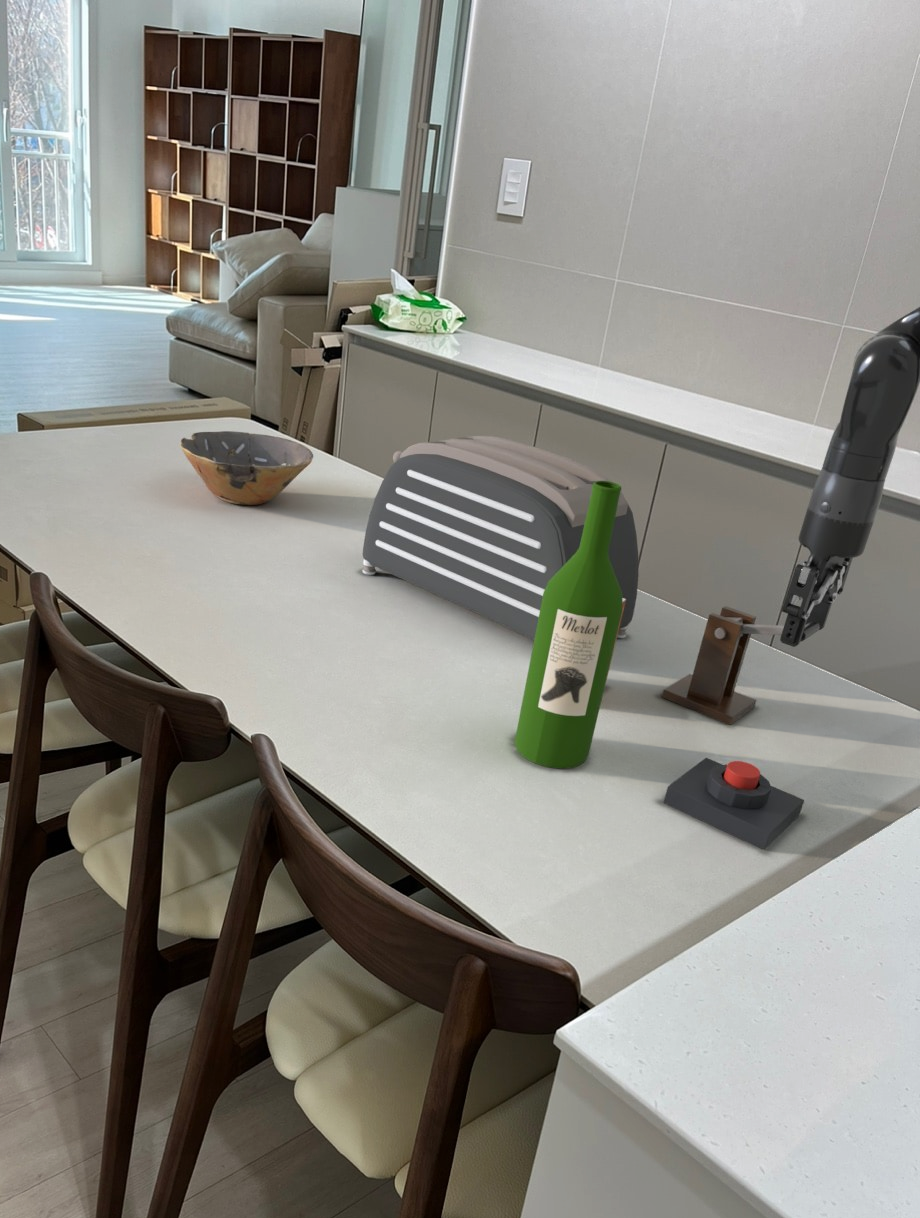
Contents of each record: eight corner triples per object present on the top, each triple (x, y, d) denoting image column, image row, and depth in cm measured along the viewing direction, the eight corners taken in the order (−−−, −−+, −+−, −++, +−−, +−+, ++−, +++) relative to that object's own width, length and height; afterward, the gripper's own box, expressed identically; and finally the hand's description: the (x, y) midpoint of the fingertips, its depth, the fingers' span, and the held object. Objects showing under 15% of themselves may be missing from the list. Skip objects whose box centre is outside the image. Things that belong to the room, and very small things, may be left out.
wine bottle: (516, 764, 123) (570, 491, 108) (511, 727, 131) (561, 468, 116) (592, 773, 123) (657, 501, 108) (583, 736, 131) (642, 478, 116)
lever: (820, 635, 134) (819, 617, 133) (805, 645, 130) (805, 626, 129) (727, 632, 142) (726, 614, 141) (711, 641, 138) (710, 623, 137)
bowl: (306, 526, 191) (310, 471, 186) (168, 512, 190) (169, 457, 185) (312, 486, 213) (316, 437, 209) (188, 474, 212) (190, 424, 207)
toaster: (421, 546, 188) (440, 410, 177) (632, 636, 161) (669, 483, 150) (342, 565, 175) (356, 419, 164) (556, 665, 149) (591, 500, 138)
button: (761, 783, 118) (765, 770, 117) (748, 794, 115) (752, 781, 115) (731, 770, 120) (735, 757, 119) (717, 781, 117) (722, 767, 117)
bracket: (754, 707, 144) (781, 621, 138) (730, 725, 138) (757, 635, 132) (687, 681, 149) (710, 596, 143) (661, 697, 144) (684, 609, 138)
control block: (798, 816, 120) (809, 786, 118) (764, 850, 113) (775, 819, 111) (701, 773, 126) (710, 744, 124) (663, 802, 119) (671, 772, 117)
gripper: (853, 529, 118) (810, 661, 126) (892, 509, 128) (850, 632, 136) (788, 511, 122) (750, 639, 130) (831, 493, 132) (793, 613, 140)
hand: (801, 635), depth 133 cm, fingers open, 8 cm apart
